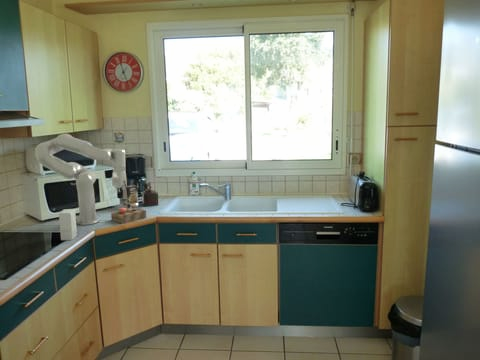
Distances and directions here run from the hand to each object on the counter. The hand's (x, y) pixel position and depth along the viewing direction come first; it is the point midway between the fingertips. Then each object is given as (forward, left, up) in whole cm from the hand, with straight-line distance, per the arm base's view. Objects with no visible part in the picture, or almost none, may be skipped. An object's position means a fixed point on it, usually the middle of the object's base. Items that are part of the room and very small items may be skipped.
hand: (120, 197), depth 252 cm
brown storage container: (+36, +21, -15) cm, 44 cm away
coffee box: (+22, +25, -15) cm, 36 cm away
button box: (+5, 0, -15) cm, 16 cm away
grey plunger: (+10, 0, -10) cm, 14 cm away
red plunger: (+1, 0, -12) cm, 12 cm away
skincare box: (-38, -9, -15) cm, 42 cm away
